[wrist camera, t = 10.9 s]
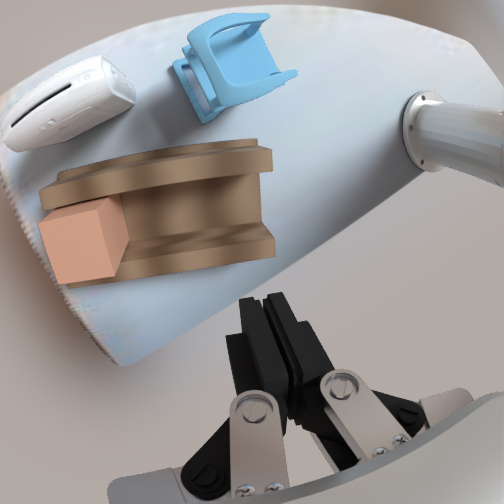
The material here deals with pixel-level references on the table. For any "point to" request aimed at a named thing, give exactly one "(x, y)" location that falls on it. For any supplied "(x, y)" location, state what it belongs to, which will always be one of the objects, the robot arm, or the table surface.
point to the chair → (230, 63)
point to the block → (85, 239)
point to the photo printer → (68, 104)
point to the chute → (178, 206)
